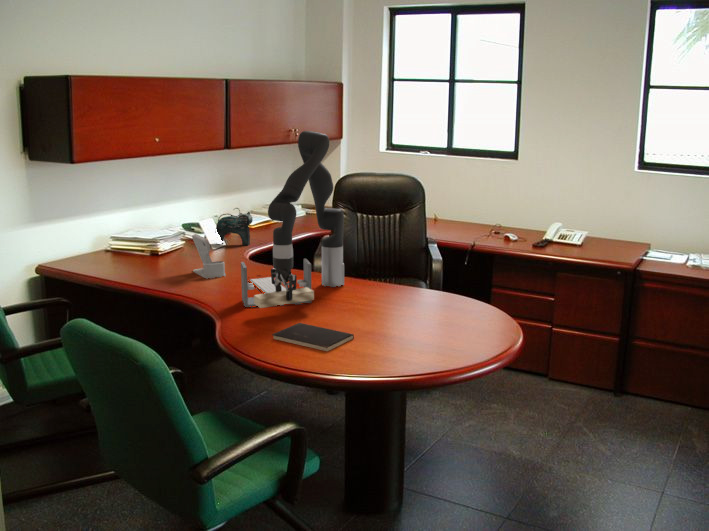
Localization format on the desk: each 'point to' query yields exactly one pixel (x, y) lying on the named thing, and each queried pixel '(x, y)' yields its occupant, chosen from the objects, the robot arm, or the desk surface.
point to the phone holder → (207, 260)
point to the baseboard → (265, 284)
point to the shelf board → (283, 297)
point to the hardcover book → (313, 336)
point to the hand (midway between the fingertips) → (284, 298)
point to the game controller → (235, 226)
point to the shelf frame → (250, 286)
